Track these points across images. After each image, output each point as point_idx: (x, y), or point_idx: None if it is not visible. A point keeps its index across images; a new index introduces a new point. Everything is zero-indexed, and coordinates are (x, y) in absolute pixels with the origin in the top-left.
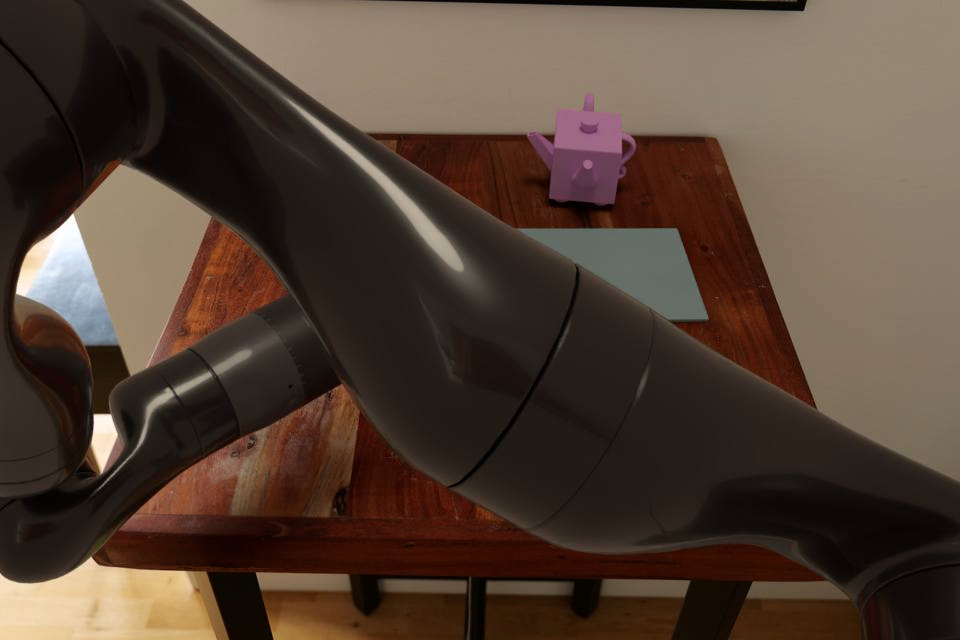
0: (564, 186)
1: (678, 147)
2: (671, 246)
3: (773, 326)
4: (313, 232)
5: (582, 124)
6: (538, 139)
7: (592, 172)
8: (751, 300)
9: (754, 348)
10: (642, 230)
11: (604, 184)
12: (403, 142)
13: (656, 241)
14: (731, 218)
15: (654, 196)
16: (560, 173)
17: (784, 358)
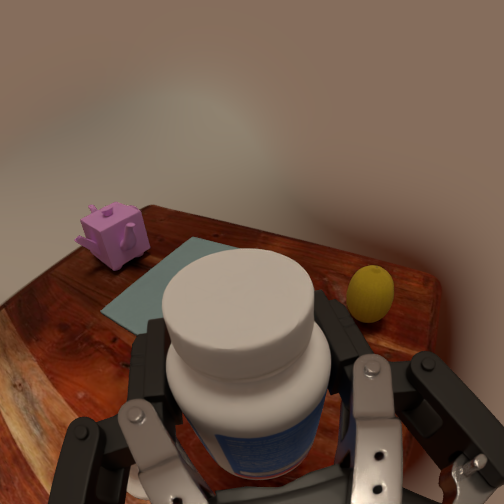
0: (118, 255)
1: (142, 214)
2: (203, 244)
3: (294, 239)
4: None
5: (104, 212)
6: (83, 239)
7: (133, 230)
8: (269, 237)
9: (305, 252)
10: (179, 248)
11: (139, 238)
12: (7, 306)
13: (193, 247)
14: (205, 219)
15: (160, 234)
16: (111, 248)
17: (319, 246)
